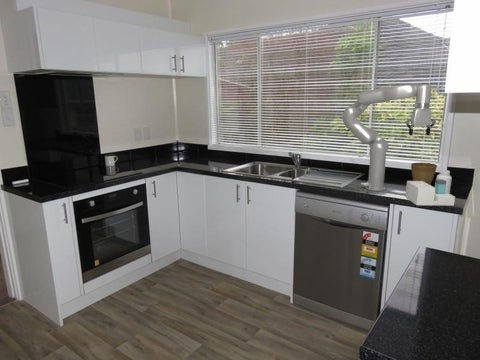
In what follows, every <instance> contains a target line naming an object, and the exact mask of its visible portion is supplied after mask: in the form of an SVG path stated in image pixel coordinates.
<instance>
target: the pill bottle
mask: <svg viewBox="0 0 480 360" xmlns="http://www.w3.org/2000/svg"><path fill="white" fill-rule="evenodd" d="M450 173H451V171H450V170H446V169H440V170H439V174H437V175H436V178H435V180H436V179H443V180H445V181H446V189H445V192H447V193H449V194H451V186H452V180H453V179H452V176H451V175H450Z"/></svg>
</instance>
